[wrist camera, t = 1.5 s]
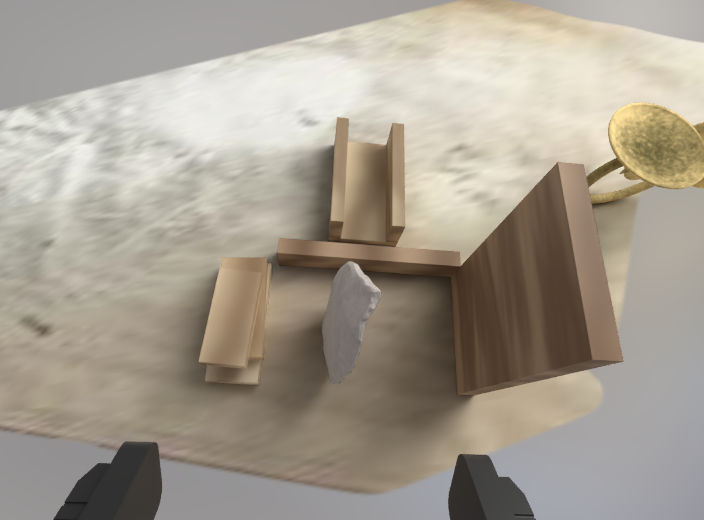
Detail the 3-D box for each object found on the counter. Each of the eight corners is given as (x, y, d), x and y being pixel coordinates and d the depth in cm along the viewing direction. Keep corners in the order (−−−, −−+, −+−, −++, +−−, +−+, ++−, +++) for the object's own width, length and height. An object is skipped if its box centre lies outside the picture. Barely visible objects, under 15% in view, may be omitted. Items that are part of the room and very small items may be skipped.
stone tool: (317, 292, 42) (324, 222, 28) (350, 291, 42) (373, 220, 28) (324, 391, 38) (335, 367, 24) (360, 388, 39) (391, 362, 25)
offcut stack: (208, 382, 37) (196, 376, 33) (226, 265, 42) (218, 247, 37) (262, 385, 38) (257, 379, 34) (275, 269, 42) (272, 251, 38)
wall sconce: (637, 157, 52) (899, -62, 29) (674, 225, 49) (1004, 40, 26) (535, 172, 50) (735, -54, 27) (568, 245, 46) (827, 60, 23)
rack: (265, 385, 38) (228, 338, 19) (280, 250, 43) (262, 112, 24) (474, 395, 39) (623, 361, 21) (465, 264, 44) (579, 143, 26)
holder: (328, 240, 44) (330, 220, 40) (334, 144, 48) (337, 117, 44) (395, 246, 44) (405, 226, 40) (395, 150, 49) (403, 124, 45)
